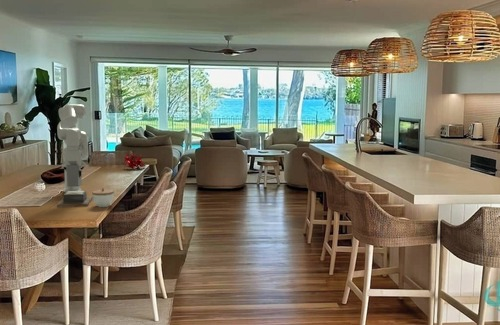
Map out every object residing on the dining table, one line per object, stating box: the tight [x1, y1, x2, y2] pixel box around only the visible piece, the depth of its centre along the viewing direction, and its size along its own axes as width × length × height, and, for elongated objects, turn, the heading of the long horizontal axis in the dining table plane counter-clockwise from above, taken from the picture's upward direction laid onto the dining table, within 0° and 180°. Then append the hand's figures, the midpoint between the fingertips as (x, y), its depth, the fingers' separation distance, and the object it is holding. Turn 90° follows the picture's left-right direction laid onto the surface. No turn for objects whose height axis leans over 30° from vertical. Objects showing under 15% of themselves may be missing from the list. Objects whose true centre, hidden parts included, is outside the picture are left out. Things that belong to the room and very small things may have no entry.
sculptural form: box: [122, 150, 147, 170], centre depth 453 cm, size 20×24×21 cm
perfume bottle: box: [66, 161, 83, 187], centre depth 303 cm, size 7×7×18 cm
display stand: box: [56, 190, 93, 208], centre depth 305 cm, size 20×18×7 cm
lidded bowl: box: [92, 187, 114, 208], centre depth 298 cm, size 13×13×11 cm
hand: (74, 176), depth 303 cm, fingers closed on perfume bottle, 5 cm apart
